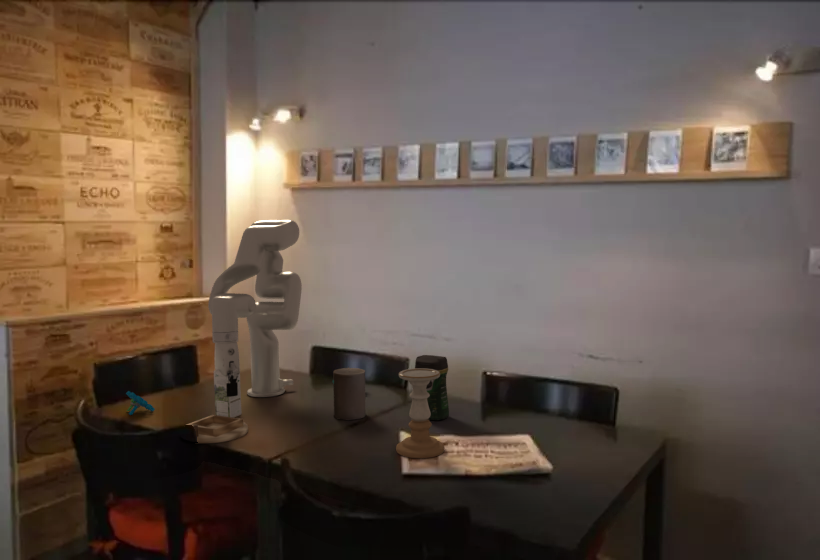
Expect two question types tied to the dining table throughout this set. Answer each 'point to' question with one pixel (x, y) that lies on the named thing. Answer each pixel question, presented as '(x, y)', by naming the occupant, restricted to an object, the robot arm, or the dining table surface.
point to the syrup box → (224, 403)
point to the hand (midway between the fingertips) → (226, 393)
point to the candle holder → (419, 417)
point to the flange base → (219, 429)
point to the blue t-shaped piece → (138, 403)
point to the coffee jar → (436, 385)
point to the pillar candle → (349, 393)
